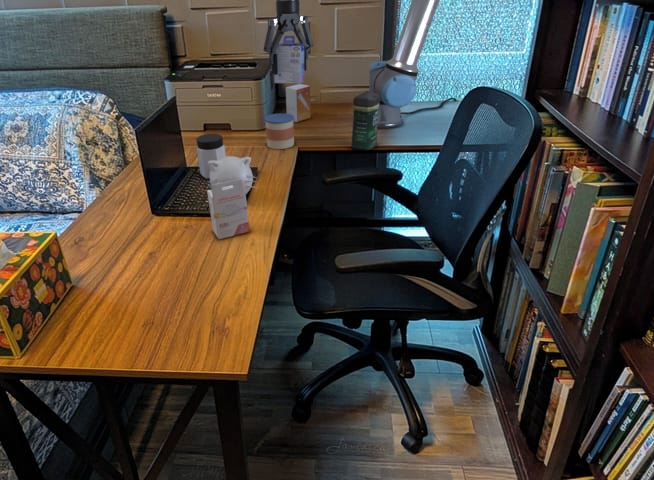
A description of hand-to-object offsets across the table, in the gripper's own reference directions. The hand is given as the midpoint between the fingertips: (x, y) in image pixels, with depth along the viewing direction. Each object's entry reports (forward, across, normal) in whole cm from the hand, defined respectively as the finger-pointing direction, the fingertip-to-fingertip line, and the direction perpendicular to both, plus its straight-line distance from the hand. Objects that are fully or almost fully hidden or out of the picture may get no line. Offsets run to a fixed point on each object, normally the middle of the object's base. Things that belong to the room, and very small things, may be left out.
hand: (289, 71), depth 171 cm
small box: (+24, -16, -22) cm, 37 cm away
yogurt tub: (+24, +5, +1) cm, 25 cm away
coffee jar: (+24, -18, +20) cm, 37 cm away
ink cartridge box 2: (+4, 0, 0) cm, 4 cm away
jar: (+25, +36, +13) cm, 45 cm away
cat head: (+25, +37, +33) cm, 56 cm away
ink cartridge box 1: (+25, +46, +52) cm, 74 cm away
